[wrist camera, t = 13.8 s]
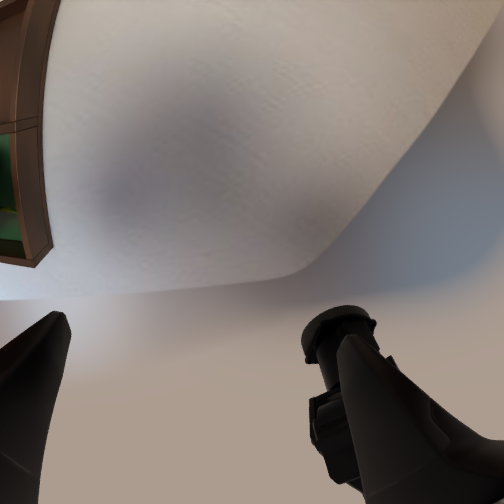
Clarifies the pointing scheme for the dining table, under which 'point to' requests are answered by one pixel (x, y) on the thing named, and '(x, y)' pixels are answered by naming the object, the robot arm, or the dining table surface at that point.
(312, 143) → the dining table surface
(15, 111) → the four compartment tray
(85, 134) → the dining table surface
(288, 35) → the dining table surface
